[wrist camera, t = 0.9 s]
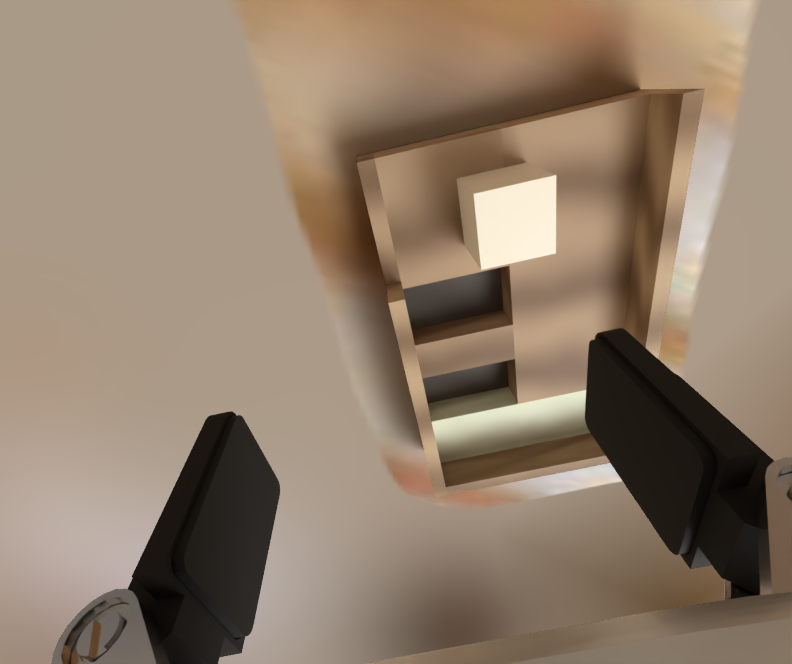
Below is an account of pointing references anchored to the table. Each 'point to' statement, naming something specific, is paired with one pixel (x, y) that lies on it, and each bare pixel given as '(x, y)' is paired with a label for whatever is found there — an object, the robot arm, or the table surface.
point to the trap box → (529, 278)
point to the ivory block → (508, 214)
